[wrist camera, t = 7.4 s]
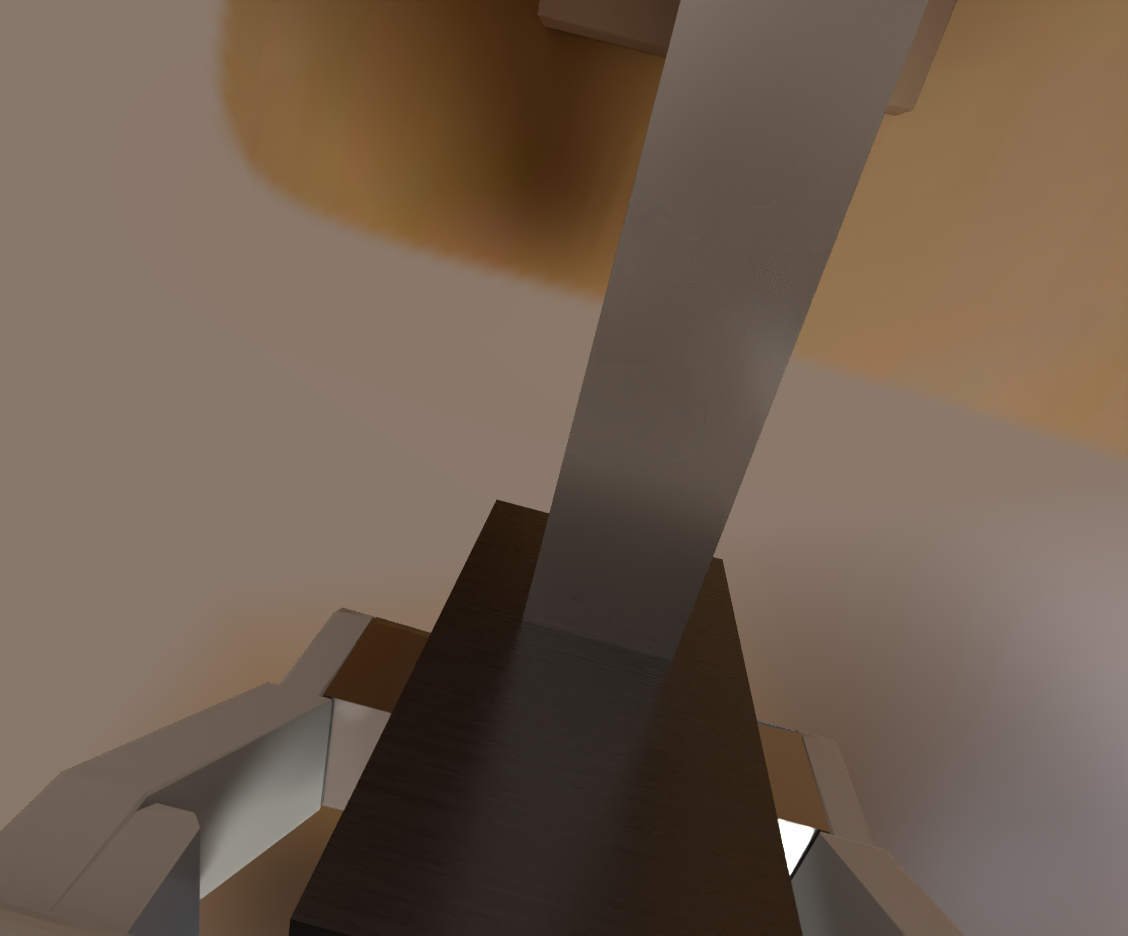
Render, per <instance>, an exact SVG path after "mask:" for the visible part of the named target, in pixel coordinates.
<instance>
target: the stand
mask: <svg viewBox="0 0 1128 936" xmlns="http://www.w3.org/2000/svg"><path fill="white" fill-rule="evenodd" d="M680 1H681V0H540V2H539V8H538V13H537V15H538V17H539V18H540V20H541V22H542V23H543V25H544V26H545V27H549V28H553V29H557V30H560V31H564V32H568V33H572V34H576V35H580V36H584V37H588V38H592V39H596V40H600V41H604V42H608V43H612V44H615V45H619V46H623V47H627V48H631V49H635V50H639V51H643V52H647V53H651V54H655V55H659V56H663V57H666V56H667V52H668V48H669V44H670V40H671V36H672V33H673V29H674V25H675V21H676V17H677V13H678V9H679V5H680ZM956 2H957V0H928V3H927V6H926V8H925V11H924V13H923V16H922V18H921V21H920V24H919V26H918V29H917V31H916V34H915V37H914V39H913V42H912V44H911V47H910V49H909V52H908V55H907V57H906V60H905V62H904V65H903V67H902V70H901V73H900V75H899V78H898V80H897V83H896V86H895V88H894V91H893V93H892V96H891V98H890V101H889V104H888V106H887V109H886V111H885V113H887V114H891V115H895V116H896V115H899V114H902V113H905V112H908V111H911V110H913V108H914V106H915V103H916V101H917V98H918V96H919V93H920V91H921V88H922V86H923V83H924V81H925V78H926V76H927V74H928V71H929V69H930V66H931V64H932V61H933V59H934V56H935V54H936V51H937V49H938V46H939V44H940V41H941V39H942V36H943V34H944V31H945V29H946V26H947V24H948V21H949V19H950V16H951V14H952V11H953V9H954V7H955V4H956Z"/></svg>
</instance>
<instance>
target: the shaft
mask: <svg viewBox="0 0 1128 936" xmlns="http://www.w3.org/2000/svg"><path fill="white" fill-rule="evenodd" d="M927 3H928V0H681V1H680V5H679V9H678V13H677V17H676V21H675V25H674V29H673V33H672V36H671V40H670V44H669V48H668V52H667V56H666V60H665V64H664V68H663V72H662V76H661V79H660V83H659V87H658V91H657V95H656V99H655V103H654V107H653V111H652V115H651V119H650V122H649V126H648V130H647V134H646V138H645V142H644V146H643V150H642V154H641V158H640V162H639V165H638V169H637V173H636V177H635V181H634V185H633V189H632V193H631V197H630V201H629V205H628V208H627V212H626V216H625V220H624V224H623V228H622V232H621V236H620V240H619V244H618V248H617V251H616V255H615V259H614V263H613V267H612V271H611V275H610V279H609V283H608V287H607V291H606V294H605V298H604V302H603V306H602V310H601V314H600V318H599V322H598V326H597V330H596V334H595V338H594V342H593V345H592V349H591V353H590V357H589V361H588V365H587V369H586V373H585V377H584V381H583V384H582V388H581V392H580V396H579V400H578V404H577V408H576V412H575V416H574V420H573V423H572V428H571V432H570V435H569V439H568V443H567V447H566V451H565V455H564V459H563V463H562V467H561V471H560V474H559V478H558V482H557V486H556V490H555V494H554V498H553V502H552V506H551V509H550V513H545V512H541V511H538V510H534V509H530V508H526V507H523V506H519V505H515V504H511V503H508V502H504V501H500V500H496V502H495V504H494V506H493V508H492V510H491V512H490V514H489V516H488V518H487V520H486V522H485V524H484V526H483V529H482V531H481V533H480V535H479V537H478V539H477V541H476V543H475V545H474V547H473V549H472V551H471V553H470V555H469V557H468V559H467V561H466V563H465V565H464V567H463V569H462V571H461V573H460V575H459V577H458V579H457V581H456V584H455V586H454V588H453V589H452V592H451V594H450V596H449V598H448V600H447V602H446V604H445V606H444V608H443V610H442V612H441V614H440V616H439V618H438V620H437V622H436V624H435V626H434V628H433V630H432V632H431V634H430V636H429V638H428V640H427V642H426V644H425V646H424V648H423V650H422V652H421V655H420V657H419V659H418V661H417V663H416V665H415V667H414V669H413V671H412V673H411V675H410V677H409V679H408V681H407V683H406V685H405V687H404V689H403V691H402V693H401V695H400V697H399V699H398V701H397V703H396V705H395V707H394V709H393V711H392V713H391V715H390V718H389V720H388V722H387V724H386V726H385V728H384V730H383V732H382V734H381V736H380V738H379V740H378V742H377V744H376V746H375V748H374V750H373V752H372V754H371V756H370V758H369V760H368V762H367V764H366V766H365V768H364V770H363V772H362V774H361V776H360V778H359V781H358V783H357V785H356V787H355V789H354V791H353V793H352V795H351V797H350V799H349V801H348V803H347V805H346V807H345V809H344V811H343V813H342V815H341V817H340V819H339V821H338V823H337V825H336V827H335V829H334V831H333V833H332V835H331V837H330V839H329V841H328V844H327V846H326V848H325V850H324V852H323V854H322V856H321V858H320V860H319V862H318V864H317V866H316V868H315V870H314V872H313V874H312V876H311V878H310V880H309V882H308V884H307V886H306V888H305V890H304V892H303V894H302V896H301V898H300V900H299V902H298V904H297V907H296V909H295V911H294V913H293V915H292V917H291V919H290V928H289V936H803V934H802V930H801V925H800V920H799V916H798V911H797V906H796V901H795V897H794V892H793V887H792V883H791V878H790V873H789V869H788V864H787V859H786V855H785V850H784V845H783V841H782V836H781V831H780V827H779V822H778V817H777V813H776V808H775V803H774V799H773V794H772V789H771V785H770V780H769V775H768V770H767V766H766V761H765V756H764V752H763V747H762V742H761V738H760V733H759V728H758V724H757V719H756V714H755V710H754V705H753V700H752V696H751V691H750V687H749V682H748V678H747V672H746V668H745V663H744V658H743V654H742V649H741V644H740V639H739V635H738V630H737V625H736V621H735V616H734V611H733V607H732V602H731V598H730V593H729V589H728V583H727V579H726V574H725V569H724V565H723V560H722V559H718V558H714V557H713V555H714V552H715V550H716V547H717V545H718V542H719V539H720V537H721V534H722V532H723V529H724V527H725V524H726V521H727V519H728V516H729V513H730V511H731V508H732V506H733V503H734V501H735V498H736V495H737V493H738V490H739V488H740V485H741V483H742V480H743V478H744V475H745V472H746V470H747V467H748V464H749V462H750V459H751V457H752V454H753V452H754V449H755V447H756V444H757V441H758V439H759V436H760V434H761V431H762V429H763V426H764V423H765V421H766V418H767V416H768V413H769V410H770V408H771V405H772V403H773V400H774V398H775V395H776V392H777V390H778V387H779V385H780V382H781V379H782V377H783V374H784V372H785V369H786V367H787V364H788V361H789V359H790V356H791V354H792V351H793V349H794V346H795V343H796V341H797V338H798V336H799V333H800V331H801V328H802V325H803V323H804V320H805V318H806V315H807V312H808V310H809V307H810V305H811V302H812V300H813V297H814V294H815V292H816V289H817V287H818V284H819V282H820V279H821V276H822V274H823V271H824V269H825V266H826V263H827V261H828V258H829V256H830V253H831V251H832V248H833V245H834V243H835V240H836V238H837V235H838V233H839V230H840V227H841V225H842V222H843V220H844V217H845V214H846V212H847V209H848V207H849V204H850V202H851V199H852V196H853V194H854V191H855V189H856V186H857V184H858V181H859V178H860V176H861V173H862V171H863V168H864V165H865V163H866V160H867V158H868V155H869V153H870V150H871V147H872V145H873V142H874V140H875V137H876V135H877V132H878V129H879V127H880V124H881V122H882V119H883V116H884V114H885V111H886V109H887V106H888V104H889V101H890V98H891V96H892V93H893V91H894V88H895V86H896V83H897V80H898V78H899V75H900V73H901V70H902V67H903V65H904V62H905V60H906V57H907V55H908V52H909V49H910V47H911V44H912V42H913V39H914V37H915V34H916V31H917V29H918V26H919V24H920V21H921V18H922V16H923V13H924V11H925V8H926V6H927Z"/></svg>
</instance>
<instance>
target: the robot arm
mask: <svg viewBox="0 0 1128 936" xmlns="http://www.w3.org/2000/svg"><path fill="white" fill-rule="evenodd" d="M430 634H431V633H430V632H426V631H423V630H420V629H416V628H413V627H409V626H406V625H403V624H399V623H395V622H392V621H389V620H386V619H382V618H379V617H376V618H375V617H373V616H370V615H366V614H363V613H360V612H356V611H353V610H349V609H346V608H341V609H339V610H338V611H336V612H334V613H333V614H332V616H331V617H330V618H329V620H328V621H327V623H326V624H325V625H324V626H323V628H322V629H321V630H320V632H319V633H318V634H317V635H316V637H315V638H314V639H313V641H312V642H311V644H310V645H309V646H308V648H307V649H306V650H305V652H304V653H303V654H302V655H301V657H300V658H299V659H298V661H297V662H296V663H295V665H294V666H293V667H292V669H291V670H290V671H289V672H288V674H287V675H286V677H285V678H284V679H283V680H282V682H281V683H280V684H279V685H278V684H274V683H270V682H267V683H265V684H263V685H261V686H258V687H256V688H254V689H251V690H249V691H247V692H244V693H242V694H240V695H237V696H235V697H233V698H230V699H228V700H226V701H224V702H221V703H219V704H217V705H215V706H212V707H210V708H208V709H205V710H203V711H201V712H198V713H196V714H194V715H192V716H189V717H187V718H184V719H182V720H180V721H178V722H175V723H173V724H171V725H168V726H166V727H164V728H162V729H159V730H157V731H154V732H152V733H150V734H148V735H145V736H143V737H141V738H138V739H136V740H134V741H131V742H129V743H127V744H125V745H122V746H120V747H118V748H115V749H113V750H111V751H108V752H106V753H104V754H102V755H99V756H97V757H95V758H92V759H90V760H88V761H85V762H83V763H81V764H78V765H76V766H74V767H72V768H69V769H67V770H65V771H62V772H61V773H60V774H59V775H58V776H57V777H56V778H55V779H54V780H53V781H51V782H50V783H49V785H47V786H46V787H45V788H44V789H43V790H42V791H41V792H40V793H39V794H38V795H37V796H36V797H35V798H34V799H33V800H32V801H31V802H30V803H29V804H28V805H27V806H26V807H25V808H24V809H23V810H22V811H21V812H20V813H19V814H18V815H17V816H16V817H15V818H14V819H13V820H11V822H10V823H8V824H7V825H6V826H5V827H4V828H3V829H2V830H1V831H0V936H199V933H200V930H199V929H200V928H199V927H200V925H199V924H200V922H199V921H200V899H202V898H203V897H204V896H206V895H207V894H208V893H210V892H211V891H212V890H214V889H215V888H216V887H218V886H219V885H220V884H222V883H223V882H224V881H226V880H227V879H228V878H230V877H231V876H232V875H233V874H235V873H236V872H238V871H239V870H240V869H242V868H243V867H244V866H245V865H247V864H248V863H249V862H250V861H252V860H253V859H255V858H256V857H257V856H259V855H260V854H261V853H263V852H264V851H265V850H267V849H268V848H269V847H271V846H272V845H273V844H275V843H276V842H277V841H278V840H280V839H281V838H283V837H284V836H285V835H287V834H288V833H289V832H290V831H292V830H293V829H294V828H296V827H297V826H298V825H300V824H301V823H302V822H304V821H305V820H306V819H308V818H309V817H310V816H312V815H313V814H314V813H315V812H317V811H318V810H320V805H324V806H328V807H332V808H336V809H340V810H344V809H345V807H346V805H347V803H348V801H349V799H350V797H351V795H352V793H353V791H354V789H355V787H356V785H357V783H358V781H359V778H360V776H361V774H362V772H363V770H364V768H365V766H366V764H367V762H368V760H369V758H370V756H371V754H372V752H373V750H374V748H375V746H376V744H377V742H378V740H379V738H380V736H381V734H382V732H383V730H384V728H385V726H386V724H387V722H388V720H389V718H390V715H391V713H392V711H393V709H394V707H395V705H396V703H397V701H398V699H399V697H400V695H401V693H402V691H403V689H404V687H405V685H406V683H407V681H408V679H409V677H410V675H411V673H412V671H413V669H414V667H415V665H416V663H417V661H418V659H419V657H420V655H421V652H422V650H423V648H424V646H425V644H426V642H427V640H428V638H429V636H430ZM757 724H758V728H759V733H760V738H761V742H762V747H763V752H764V756H765V761H766V766H767V770H768V775H769V780H770V785H771V789H772V794H773V799H774V803H775V808H776V813H777V817H778V822H779V827H780V831H781V836H782V841H783V845H784V850H785V855H786V859H787V864H788V869H789V873H790V878H791V883H792V887H793V892H794V897H795V901H796V906H797V911H798V916H799V920H800V925H801V930H802V934H803V936H965V935H964V934H963V933H962V932H961V931H960V930H959V929H958V928H957V927H956V925H954V923H953V922H952V921H951V920H950V919H949V918H948V917H947V916H946V914H945V913H944V912H942V910H941V909H940V908H939V907H938V906H937V905H936V904H935V903H934V901H933V900H932V899H931V898H930V897H929V896H928V895H927V894H926V893H925V892H924V891H923V890H922V888H921V887H920V886H919V885H918V884H917V883H916V882H915V881H914V880H913V879H912V878H911V877H910V875H909V874H908V873H907V872H906V871H905V870H904V869H903V868H902V867H901V866H900V865H899V863H897V861H896V860H895V859H894V858H893V857H892V856H891V855H890V854H889V853H888V852H887V850H885V849H882V848H878V847H874V844H873V841H872V839H871V836H870V834H869V830H868V828H867V825H866V822H865V819H864V817H863V814H862V811H861V809H860V806H859V803H858V800H857V797H856V795H855V792H854V789H853V786H852V784H851V781H850V778H849V776H848V773H847V770H846V767H845V764H844V762H843V759H842V756H841V753H840V751H839V748H838V746H837V744H836V743H835V742H834V741H833V740H832V739H829V738H826V737H821V736H817V735H813V734H809V733H805V732H801V731H797V730H796V731H793V730H790V729H786V728H783V727H779V726H775V725H771V724H767V723H763V722H760V721H757Z"/></svg>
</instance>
